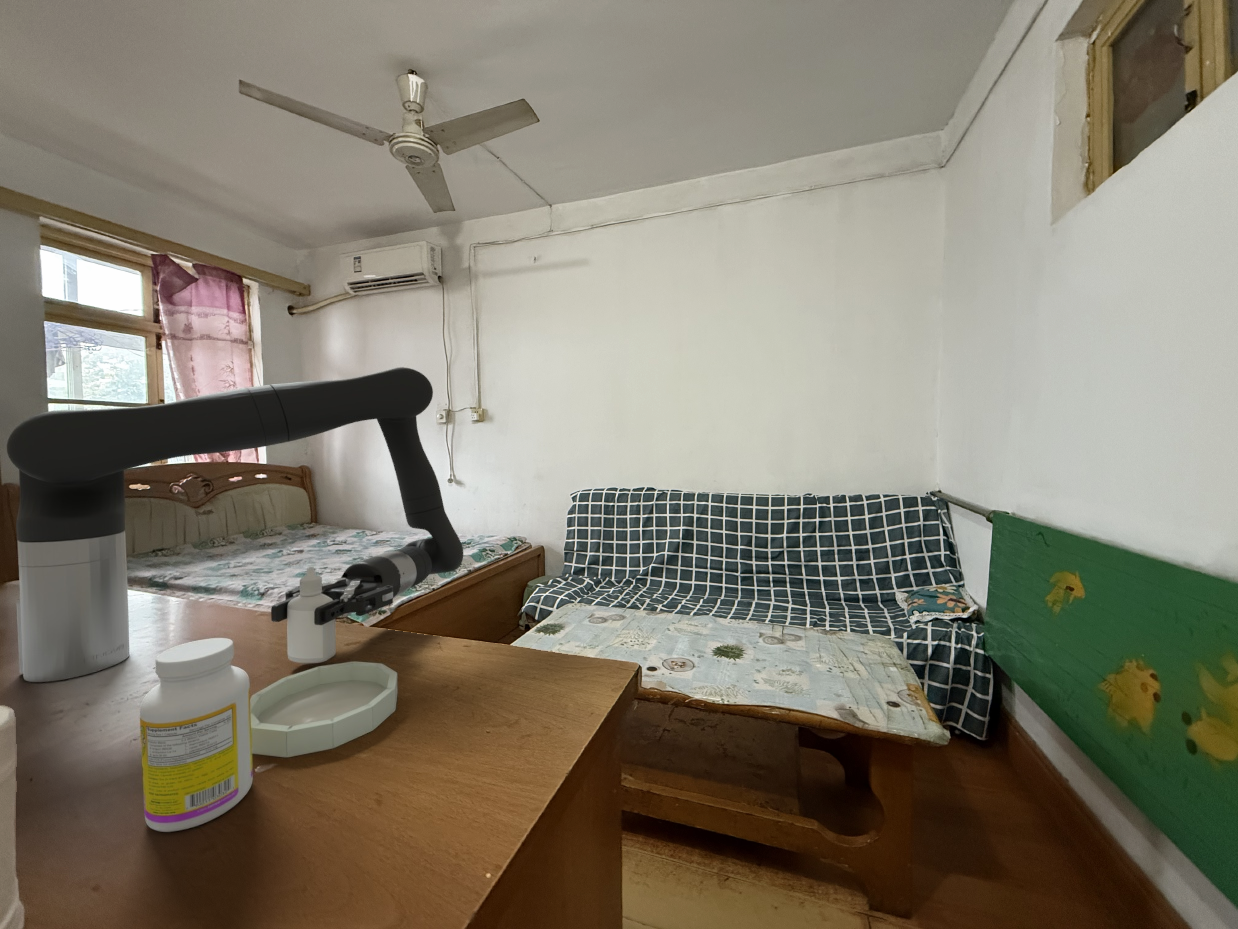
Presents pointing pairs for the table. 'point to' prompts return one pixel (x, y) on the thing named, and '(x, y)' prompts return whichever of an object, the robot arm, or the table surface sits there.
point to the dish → (321, 708)
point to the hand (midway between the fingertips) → (295, 615)
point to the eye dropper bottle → (309, 624)
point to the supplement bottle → (195, 736)
